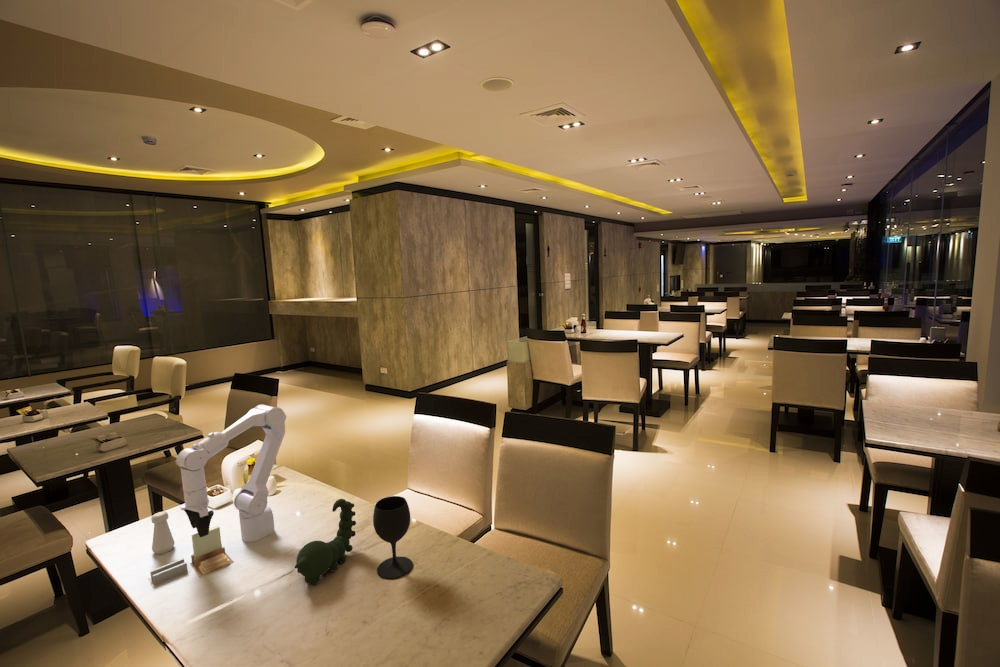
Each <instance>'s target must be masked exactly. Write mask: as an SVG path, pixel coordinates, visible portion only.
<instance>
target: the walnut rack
mask: <svg viewBox="0 0 1000 667" xmlns="http://www.w3.org/2000/svg"><path fill="white" fill-rule="evenodd" d="M221 545H222V548H219V549H217V550H214V551H212V552H209V553H207V554H204V555H202V556H199V557H197V558H194V553H193V554H191V555H190V558H191V559H190V560H191V562H190V563H189V564H190V566H191V567H192V569H193V570H194V571H195V573H196V574H197V575H198V577H199V578H201V577H203V576H206V575H208V574H210V573H213V572H215V571H217V570H220V569H222V568H225V567H227V566H229V565H232V564H234V563H235V561H233V559H232V558H231V557H230V556H229V555H228V554H227V553H226V548H225V546H223V544H222V543H221ZM222 553H224V554H225V555H226V557H227V558H228V559H229V560H230V563H229V564H227V565H225V566H222V567H220V568H218V569H215V570H213V571H211V572H208V573H206V574H202V572H201V571H200V570H199V566H200V565H201V562H202V561H205V560H207V559H210V558H212V557H215V556H217V555H219V554H222Z"/></svg>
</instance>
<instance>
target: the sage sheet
mask: <svg viewBox="0 0 1000 667" xmlns="http://www.w3.org/2000/svg"><path fill="white" fill-rule="evenodd" d="M191 542H192V549H193V554H194V558H197V557H199V556H202V555H204V554H207V553H209V552H212V551H214V550H217V549H219V548H222V547H223V544H222V536H221V530H220V526H219V525H216V526H213V527H209V533H208V535H206V536H203V537H200V536H199V534H198V532H197V533H194V534H192V535H191ZM221 544H222V545H221Z"/></svg>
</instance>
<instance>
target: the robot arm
mask: <svg viewBox="0 0 1000 667" xmlns="http://www.w3.org/2000/svg"><path fill="white" fill-rule="evenodd" d="M286 420H287V414H286V413H285V411H284V410H283V408H281V407H278V406H276V407H275V406H271V405H267V404H263V403H260V404H258V405H256V406H254V408H251V409H249V411H248V412H247V413H246V414H245V415H243V416H242V417H240V418H238V420H237V421H235V422H234V423H232V424H231V425H230V426H228V427H227V428H225V429H224V430H222V431H221V432H219V431H214V432H210V433H207V436H206V437H205V438H204V439H202V440H201V441H199V442H197V443H196V442H195V443H193V444H192V447H187V448H186V447H185V448H184V449H182V450H181V451H180V452H179V453H178V455H177V457H176V460H175V461H174V462H175V464H176V466H178V467H180V473H181V482H182V491H183V497H184V499H183V500H184V504H183V505H180V510H181V511H184V512H185V514H186V515H187V518H188V521H189V522H190V525H191V528H192V529H195V528H196V531H197V533H198V534H199V536H200V537H203V536H206V535H208V533H209V529H210V525H211V521H212V519H213V517H214V513H215V511H214V510H208V507H209V502H210V499H209V498H208V488H207V482H206V474H205V473H206V471H205V466H206V464H207V462H208V461H209V459H210V458H211V459H212V457H214V456H215V455H217V454H218V453H219V452H221V451H223V450H224V449H225V448H227V447H228V445H229V441H230V440H232V439H234V438H236V437H237V436H238V435H240V434H242V433H243V432H246V431H247V430H248V429H250V428H252V427H261V428H262V429H263V432H264V433H265V437H264V440H263V442H262V445H261V447H260V449H259V452H258V455H257V458H256V460H255V463H254V465H253V466H254V467H253V469H252V471H251V474H250V477H249V479H248V481H247V482H246V483H245V484H243V485H242V486H241V487H240V488H241V489H240V490H239V492H238V493H237V494H236V495H235V496H234V497H235V498H234V499H233V505H234V507H235V508H236V509H237V510H238V515H239V516H238V517H239V525H240V533H241V534H240V535H241V541H242V542H243V543H253V542H256V541H259V540H261V539H263V538H265V537H267V536H269V535H272V534H274V533H275V532H276V531H275V520H274V513H273V510H272V508H271V507H270V506H268V498H269V497H268V496H269V493H270V492H269V489H268V487H267V483H268V481H269V478H270V475H271V472H272V470H273V466H274V464H275V461H276V458H277V456H278V454H279V450H280V447H281V445H282V442H283V439H284V437H285V435H286V434H285V433H286V425H285V422H286Z"/></svg>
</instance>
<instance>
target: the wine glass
mask: <svg viewBox="0 0 1000 667" xmlns="http://www.w3.org/2000/svg"><path fill="white" fill-rule="evenodd" d="M372 520H373V521H372V522H373V528H374V532H375V534H376V535H377V536H378V537H379V538H380V539H381V540H383V541H384V542H385V543H388V544H390V545H391V553H392V557H389V558H387V559H384V560H383V561H382V562H381V563H379V564H378V566H377V568H376V574H377V575H378V576H379V577H380V578H381V579H383V580H398V579H401V578H403V577H405V576H407V575H408V574H409V573H411V571H412V570H413V568H414V564H413V560H412V559H410V558H409V557H406V556H399V555H398V556H397V550H396V549H397V546H396V545H397V543H398V542H400V541H401V540H402V539H403V538H404V536H405V535H407V532H408V531H409V528H410V524H411V511H410V507H409V504H408V501H407V500H406V498H405V497H403V496H398V495H391V496H386V497H384V498H380V499H379V500H377V502H376V503H375V505H374V510H373V515H372Z"/></svg>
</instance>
